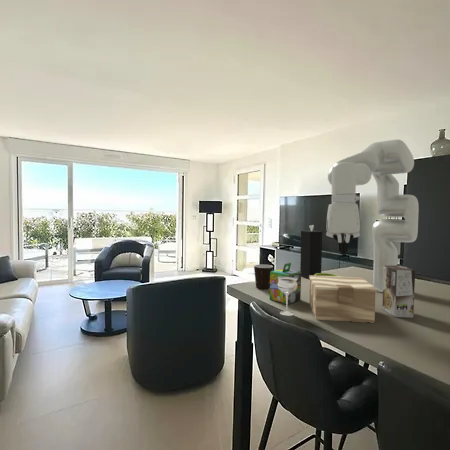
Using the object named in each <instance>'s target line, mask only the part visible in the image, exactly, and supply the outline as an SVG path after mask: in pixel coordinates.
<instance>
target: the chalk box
mask: <svg viewBox="0 0 450 450" xmlns="http://www.w3.org/2000/svg"><path fill="white" fill-rule="evenodd" d="M283 265H284V266H283V268H278V269H275V270H274V269H273V270H272V271H271V272H270V289H269V300H271V301H275V302H278V303H281V304H285V305H286V295H285V293H283V292H281V291H280V290H279V288H278V286H277V283H278V281H279V280H278V277H294V278H297V281H296V282H297V289H296V290H295V291H294V292H293V293H291V294H290V295H288V305H290V304H293V303H296V302H299V301H301V300H302V299H301V297H302V296H301V292H302V277H301V272H300V270H299V271H298V270H295V269H291V265H292V262H288V263H284V264H283ZM286 267H287V268H286Z"/></svg>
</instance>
